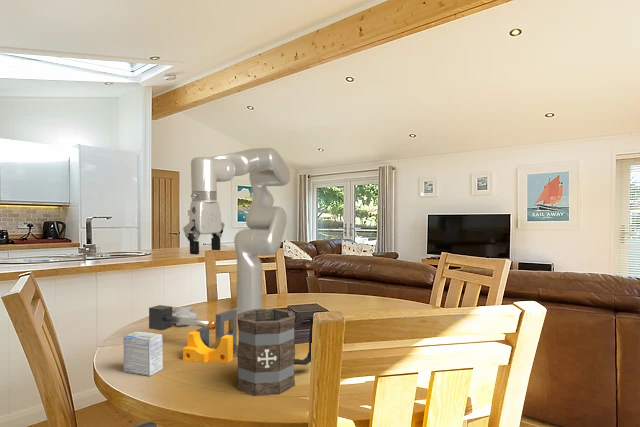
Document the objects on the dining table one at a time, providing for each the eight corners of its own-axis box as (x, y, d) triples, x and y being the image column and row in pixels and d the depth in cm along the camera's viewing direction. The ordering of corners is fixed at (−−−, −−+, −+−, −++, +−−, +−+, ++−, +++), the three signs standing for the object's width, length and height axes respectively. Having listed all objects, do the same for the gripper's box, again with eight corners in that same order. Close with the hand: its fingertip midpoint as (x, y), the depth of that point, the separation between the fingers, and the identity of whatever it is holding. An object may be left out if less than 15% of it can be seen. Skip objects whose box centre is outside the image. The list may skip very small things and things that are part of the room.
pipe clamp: (182, 360, 104) (182, 335, 104) (193, 355, 108) (193, 331, 108) (223, 366, 100) (223, 340, 100) (232, 360, 104) (232, 335, 104)
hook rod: (148, 328, 118) (149, 307, 118) (159, 325, 122) (159, 305, 122) (211, 338, 109) (211, 316, 109) (220, 334, 112) (220, 312, 112)
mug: (249, 402, 81) (249, 326, 81) (226, 378, 92) (226, 312, 92) (331, 380, 91) (331, 314, 91) (301, 362, 103) (301, 303, 103)
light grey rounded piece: (167, 317, 132) (167, 302, 146) (167, 332, 132) (167, 315, 146) (198, 314, 135) (195, 300, 149) (198, 329, 136) (195, 313, 150)
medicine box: (163, 370, 97) (163, 333, 97) (149, 377, 93) (150, 339, 93) (137, 365, 100) (137, 330, 100) (122, 372, 96) (122, 335, 96)
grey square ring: (191, 352, 110) (191, 311, 110) (208, 344, 116) (208, 306, 116) (230, 359, 104) (230, 316, 104) (246, 351, 111) (246, 310, 111)
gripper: (193, 197, 117) (195, 256, 117) (231, 197, 132) (232, 249, 133) (174, 197, 120) (175, 255, 121) (213, 197, 135) (214, 248, 136)
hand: (205, 252), depth 127 cm, fingers open, 9 cm apart
